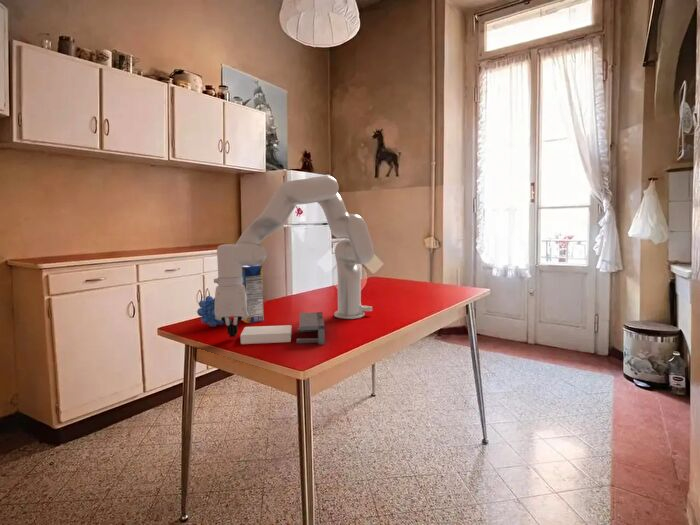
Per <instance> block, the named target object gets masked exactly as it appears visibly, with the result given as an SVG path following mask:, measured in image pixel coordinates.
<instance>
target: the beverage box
mask: <svg viewBox="0 0 700 525" xmlns="http://www.w3.org/2000/svg"><path fill="white" fill-rule="evenodd" d="M242 285H244V286H245V290H246V296H247V304H248V311H247V312H248V315H249V317H248V318H246V319H242V320H241V321H243V322H244V323H246V324H253V323H258V322H259V323H260V322H264V321H265V317H264V314H265V313H264V312H265V311H264V287H263V286H264V285H263V266H262V265H261V264H259V265H242Z"/></svg>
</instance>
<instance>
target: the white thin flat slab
mask: <svg viewBox="0 0 700 525" xmlns="http://www.w3.org/2000/svg"><path fill="white" fill-rule="evenodd" d="M292 333H293V331H292V324H287V325H285V324H284V325H262V326H260V325H259V326H245V327H244V328H243V330H242V332H241V333H240V335H239V336H240V345H249V344H250V345H251V344H253V345H255V344H272V343H273V344H275V343H291V340H292V335H293V334H292Z"/></svg>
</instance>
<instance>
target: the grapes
mask: <svg viewBox="0 0 700 525" xmlns="http://www.w3.org/2000/svg"><path fill="white" fill-rule="evenodd" d="M198 306H199V307H200V308H198V309H197V310H196V313H197V315H198V316H200V321H201V323H202V324H208V325H209V326H210V327H212V328H215V327H216V326H217V325H223V324H225V323H224V322H223V321H222V320H217V319H215V297H213V296H210V295H207V296H206V297H205V298H204V300H203V299H201V300H199V303H198Z"/></svg>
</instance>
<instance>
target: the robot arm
mask: <svg viewBox="0 0 700 525" xmlns="http://www.w3.org/2000/svg"><path fill="white" fill-rule="evenodd" d="M339 188H340V187H339V183H338V181H337V179H336V178H334V177H333V176H330V175H322V176H313V177H309V178H304V179H303V178H302V179H295V180H293V179H292V180H288V181H284V182H282V183H281V184H280V185H279V186H278V188H277V189H276V190H275V192H274V194H273V195H272V197H271V199H270V200H269V202H268V203H267V205H266V207H265V208H264V209H263V211H262V212H261V213H260V215H258V216H257V217H256V218H255V219H254V220H253V221H252V222H251V223H250V224H249V225H248V226H247V227H246V229H245V230H244V231H243V232H242V233H241V235H240V237H239V238H238V240H237V241H236V243H228V244H226V243H225V244H219V245H218V246H217V247H216V248H217V249H216V256H217V257H216V258H217V278H213V283H214V284H217V286H216V287H215V290H214V292H215V293H214V298H215V319H217V320H222V321H223V322H224V323H223V324H225V325H226V326H227V327H226V329H227V335H229V338H232V337H233V338H235V337H236V336H237V335H238V331H239V330H238V324H239V323H240V322H241V321H243V320H242V319H246V318H248V317H249V315H248V312H247V311H248V304H247V296H246V290H245V286H244V285H242V265H261V264H263V263H264V262H265V260H266V259H267V256H268V254H267V250H266V248H265V247H264V246H263V245H261V243H262V242H263V241H264V240H265V238H267V237H268V236H269V235H272V234H273V233H275V232H277V231H278V230H280V229H282V228H283V227H284V226H285V224H286V223H287V221H288V220H289V217H290V216H291V215H292V213H293V212H294V209H295V208H296V206H297V205H307V204H314V203H317V204H318V205H320V207H321V209H322V210H323V213H324V215H325V217H326V218H325V219H326V222H327V225H328V227H329V230H330V233H331V235H332V236H334V237H335V238H338V239H342V240H340V241H338V242H337V244H336V245H335V248H334V257H335V262H336V267H337V270H336V272H337V273H336V274H337V310H336V311H335V312H334V314H333V315H334V317H335V318H338V319H341V320H342V319H343V320H354V319H361V318H363V317H365V313H366V312H373V306H372V305H371V306H369V305H362V302H361V300H362V297H361V296H362V293H361V292H362V284H361V279H362V277H361V276H362V273H361V269H360V265H366V264H369V263H371V262H372V260H373V259H374V254H375V250H374V249H375V248H374V244H373V241H372V238H371V235H370V231H369V229H368V228H369V227H368V226H367V223H366V220H364V219H365V218H363V217H362V216H360V215H359V214H356V213H349V212H348V211H347V208H346V205H345V202H344V200H343V198H342V196H341V194H339V190H340V189H339ZM231 318H233V322H232V319H231Z"/></svg>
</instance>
